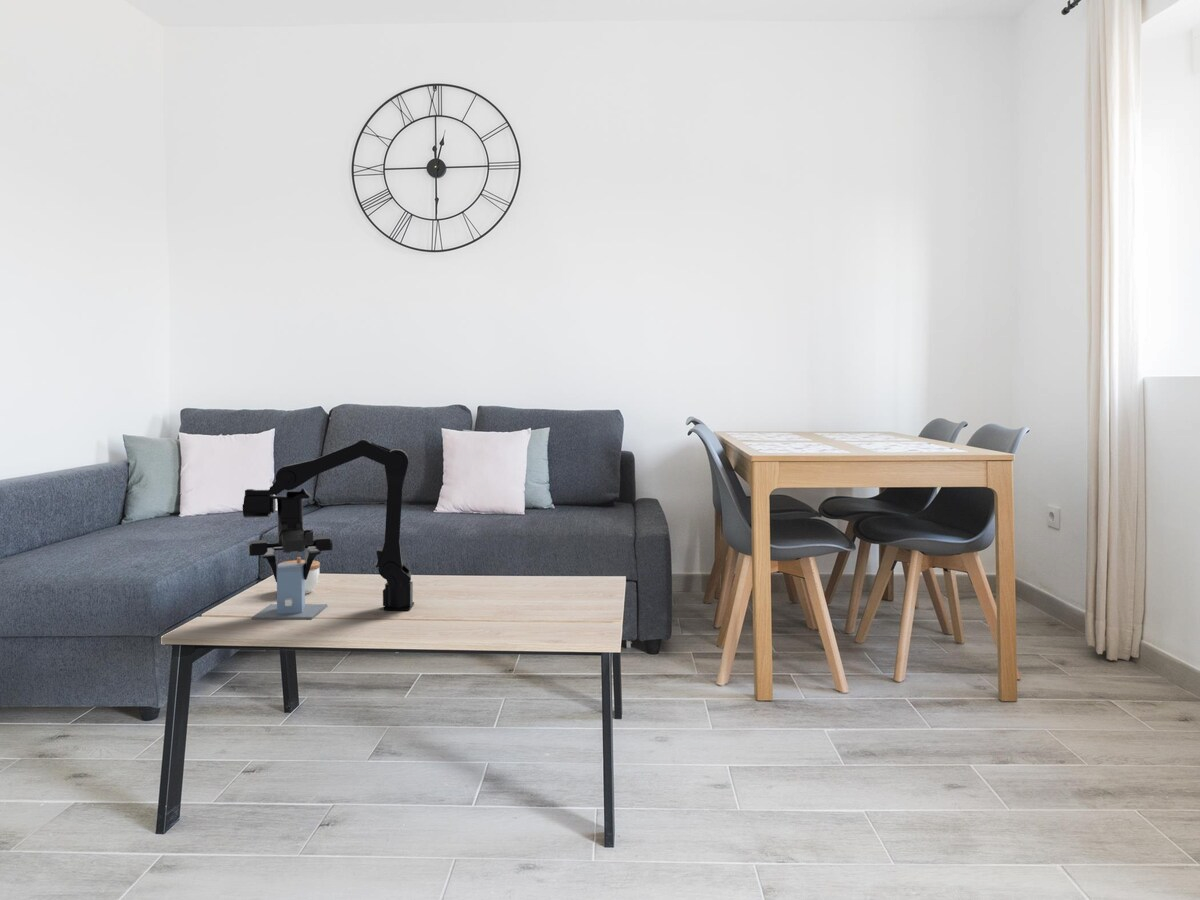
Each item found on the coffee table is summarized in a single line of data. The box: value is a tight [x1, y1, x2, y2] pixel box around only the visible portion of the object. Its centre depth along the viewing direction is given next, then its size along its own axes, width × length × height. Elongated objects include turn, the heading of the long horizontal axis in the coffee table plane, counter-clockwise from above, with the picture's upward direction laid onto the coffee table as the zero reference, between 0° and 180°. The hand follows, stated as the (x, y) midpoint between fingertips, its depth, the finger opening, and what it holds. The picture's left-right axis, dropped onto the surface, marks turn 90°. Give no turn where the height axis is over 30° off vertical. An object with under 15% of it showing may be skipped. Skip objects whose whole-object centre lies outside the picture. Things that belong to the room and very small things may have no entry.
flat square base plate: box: [251, 603, 328, 620], centre depth 195 cm, size 14×12×4 cm
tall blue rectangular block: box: [276, 563, 306, 614], centre depth 194 cm, size 8×6×11 cm
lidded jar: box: [276, 556, 321, 595], centre depth 215 cm, size 11×11×9 cm
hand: (291, 580), depth 195 cm, fingers closed on tall blue rectangular block, 6 cm apart
